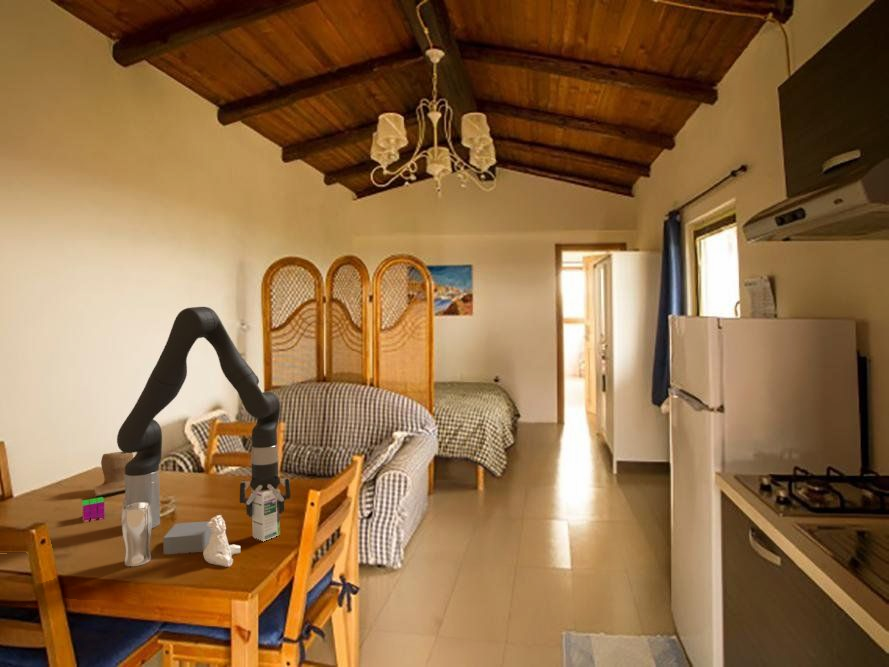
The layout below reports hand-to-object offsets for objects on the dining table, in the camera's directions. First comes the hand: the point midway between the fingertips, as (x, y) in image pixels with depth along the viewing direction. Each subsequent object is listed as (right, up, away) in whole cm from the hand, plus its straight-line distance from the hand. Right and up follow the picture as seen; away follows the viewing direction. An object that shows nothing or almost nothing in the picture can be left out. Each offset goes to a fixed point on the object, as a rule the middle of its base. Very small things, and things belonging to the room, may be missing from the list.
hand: (265, 514), depth 151 cm
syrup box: (0, -7, 0) cm, 7 cm away
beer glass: (-29, -7, -15) cm, 33 cm away
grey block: (-20, -7, -5) cm, 22 cm away
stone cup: (-72, -6, +42) cm, 84 cm away
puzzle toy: (-62, -7, +16) cm, 64 cm away
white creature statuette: (-7, -7, -14) cm, 18 cm away
